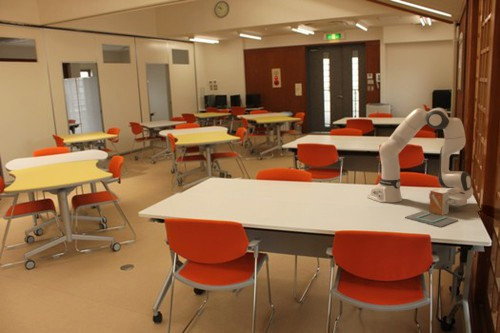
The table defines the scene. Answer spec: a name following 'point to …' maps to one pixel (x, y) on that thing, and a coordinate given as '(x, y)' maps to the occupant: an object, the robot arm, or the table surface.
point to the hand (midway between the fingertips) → (439, 201)
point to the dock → (431, 219)
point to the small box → (439, 201)
